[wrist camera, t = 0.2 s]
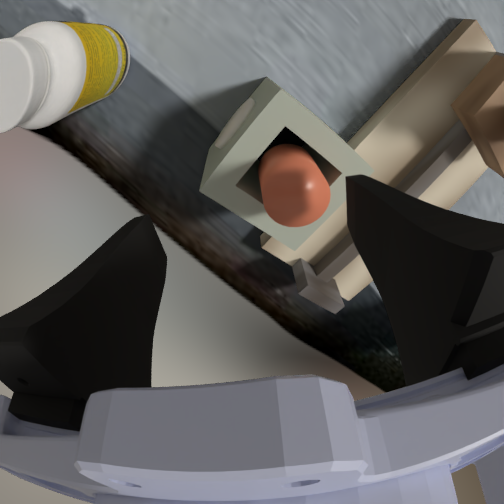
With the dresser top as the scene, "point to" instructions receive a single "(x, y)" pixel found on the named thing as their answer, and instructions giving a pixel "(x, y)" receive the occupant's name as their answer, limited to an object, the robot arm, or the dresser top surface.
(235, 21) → the dresser top surface
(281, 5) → the dresser top surface
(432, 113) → the rail board
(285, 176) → the button
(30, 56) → the supplement bottle
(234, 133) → the cabinet
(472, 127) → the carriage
